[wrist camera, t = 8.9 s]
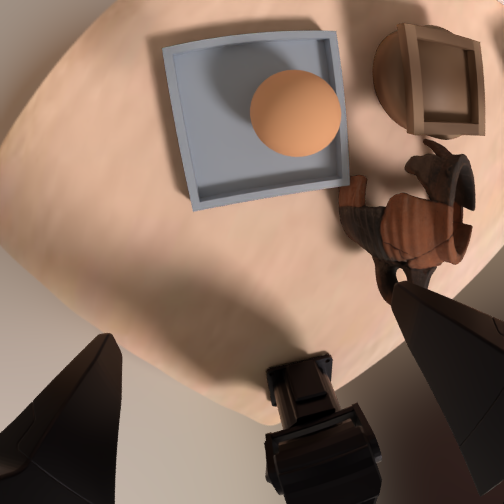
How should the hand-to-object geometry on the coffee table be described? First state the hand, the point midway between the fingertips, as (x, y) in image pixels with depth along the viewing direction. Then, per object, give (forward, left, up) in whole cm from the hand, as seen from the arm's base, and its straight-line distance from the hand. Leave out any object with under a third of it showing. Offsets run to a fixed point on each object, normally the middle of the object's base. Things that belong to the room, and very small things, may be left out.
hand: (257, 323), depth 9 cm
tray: (+5, -3, -12) cm, 14 cm away
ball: (+5, -4, -9) cm, 11 cm away
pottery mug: (-3, -12, -13) cm, 18 cm away
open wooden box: (+7, -15, -12) cm, 20 cm away
